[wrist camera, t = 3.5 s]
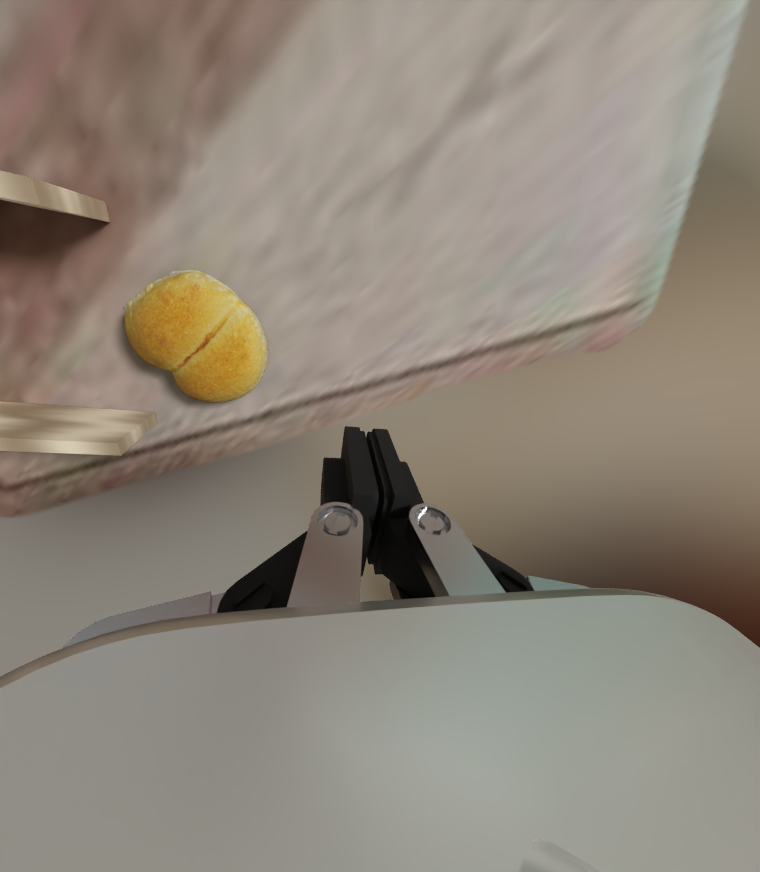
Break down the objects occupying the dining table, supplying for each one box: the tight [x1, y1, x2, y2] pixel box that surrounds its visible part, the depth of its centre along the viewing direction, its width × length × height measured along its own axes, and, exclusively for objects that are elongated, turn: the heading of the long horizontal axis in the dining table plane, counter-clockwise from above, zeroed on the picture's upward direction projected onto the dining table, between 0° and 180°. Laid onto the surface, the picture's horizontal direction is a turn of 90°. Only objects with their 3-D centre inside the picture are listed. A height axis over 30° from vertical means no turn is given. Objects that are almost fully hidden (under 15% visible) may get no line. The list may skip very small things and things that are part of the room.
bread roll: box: [123, 270, 268, 402], centre depth 20 cm, size 8×9×4 cm
